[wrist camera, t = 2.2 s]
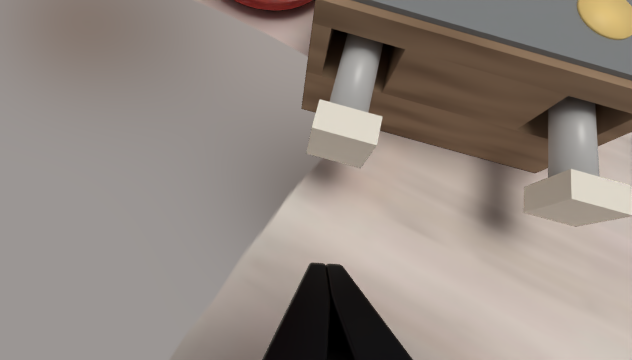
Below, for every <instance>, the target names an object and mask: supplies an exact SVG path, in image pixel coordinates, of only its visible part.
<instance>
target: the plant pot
mask: <svg viewBox="0 0 632 360" xmlns="http://www.w3.org/2000/svg"><path fill="white" fill-rule="evenodd" d="M235 1H236V2H239V3H241V4H244V5H246V6H249V7H253V8H257V9H263V10H287V9H292V8H296V7H299V6H302V5H304V4H306V3H308V2H310V1H312V0H235Z"/></svg>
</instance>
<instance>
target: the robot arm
mask: <svg viewBox="0 0 632 360" xmlns="http://www.w3.org/2000/svg"><path fill="white" fill-rule="evenodd" d="M262 360H413V359H412V358H411V357H410V355H409V354H408V353H407V351H406V350H405V349H404V347H403V346H402V345H401V343H400V342H399V341H398V339H397V338H396V337H395V335H394V334H393V333H392V331H391V330H390V329H389V327H388V326H387V325H386V323H385V322H384V321H383V319H382V318H381V317H380V315H379V314H378V313H377V311H376V310H375V309H374V307H373V306H372V305H371V303H370V302H369V301H368V299H367V298H366V297H365V295H364V294H363V293H362V291H361V290H360V289H359V287H358V286H357V285H356V283H355V282H354V281H353V279H352V278H351V277H350V275H349V274H348V273H347V271H346V270H345V269H344V267H343V266H342V265H339V264H327V265H325V264H324V263H310V264H309V266H308V268H307V270H306V272H305V274H304V276H303V278H302V280H301V282H300V284H299V286H298V288H297V290H296V292H295V294H294V297H293V299H292V301H291V303H290V305H289V307H288V309H287V311H286V313H285V315H284V317H283V319H282V321H281V323H280V325H279V327H278V329H277V331H276V333H275V335H274V337H273V339H272V341H271V343H270V345H269V347H268V349H267V351H266V353H265V355H264V357H263V359H262Z"/></svg>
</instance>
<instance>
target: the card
mask: <svg viewBox="0 0 632 360" xmlns="http://www.w3.org/2000/svg"><path fill="white" fill-rule="evenodd" d="M352 1H356V2H359V3H363V4H366V5H370V6H373V7H377V8H380V9H384V10H387V11H391V12H394V13H398V14H401V15H405V16H408V17H411V18H415V19H418V20H422V21H425V22H429V23H432V24H436V25H439V26H443V27H446V28H450V29H453V30H457V31H460V32H464V33H467V34H471V35H474V36H478V37H481V38H485V39H488V40H492V41H495V42H499V43H502V44H506V45H509V46H513V47H516V48H520V49H523V50H527V51H530V52H533V53H537V54H540V55H544V56H547V57H551V58H554V59H558V60H561V61H565V62H568V63H572V64H575V65H579V66H582V67H586V68H589V69H593V70H596V71H600V72H603V73H607V74H610V75H614V76H617V77H621V78H624V79H628V80H631V81H632V0H352Z"/></svg>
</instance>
